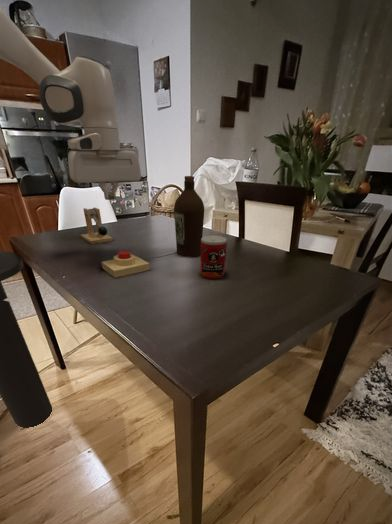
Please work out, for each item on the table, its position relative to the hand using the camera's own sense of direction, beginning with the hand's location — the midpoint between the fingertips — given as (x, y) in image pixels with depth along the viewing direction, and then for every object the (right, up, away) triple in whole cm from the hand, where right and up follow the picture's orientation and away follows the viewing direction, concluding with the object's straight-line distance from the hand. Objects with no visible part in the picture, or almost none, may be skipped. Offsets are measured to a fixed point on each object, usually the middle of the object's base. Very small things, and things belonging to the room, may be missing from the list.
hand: (110, 199), depth 85 cm
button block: (+3, -19, +8) cm, 20 cm away
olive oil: (+23, -9, +23) cm, 33 cm away
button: (+3, -16, +5) cm, 17 cm away
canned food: (+31, -22, +5) cm, 38 cm away
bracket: (-17, +2, +36) cm, 40 cm away
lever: (-15, +5, +30) cm, 34 cm away
